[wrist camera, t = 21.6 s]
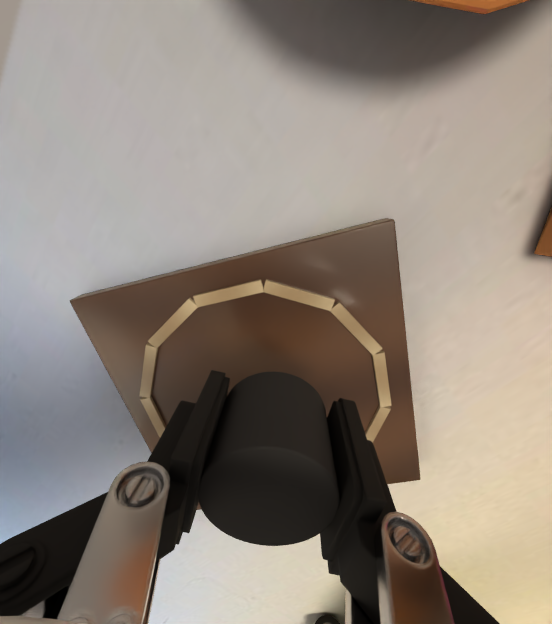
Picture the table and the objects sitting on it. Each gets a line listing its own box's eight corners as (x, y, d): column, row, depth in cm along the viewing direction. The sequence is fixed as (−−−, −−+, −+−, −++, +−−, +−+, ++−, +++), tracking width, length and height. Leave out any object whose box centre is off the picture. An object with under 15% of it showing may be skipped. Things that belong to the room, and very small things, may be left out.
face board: (81, 294, 15) (65, 302, 14) (387, 217, 13) (396, 219, 12) (187, 498, 21) (181, 515, 20) (414, 466, 19) (422, 483, 18)
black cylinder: (209, 381, 11) (175, 459, 8) (314, 361, 10) (325, 436, 7) (240, 458, 12) (222, 553, 9) (333, 444, 12) (350, 539, 8)
